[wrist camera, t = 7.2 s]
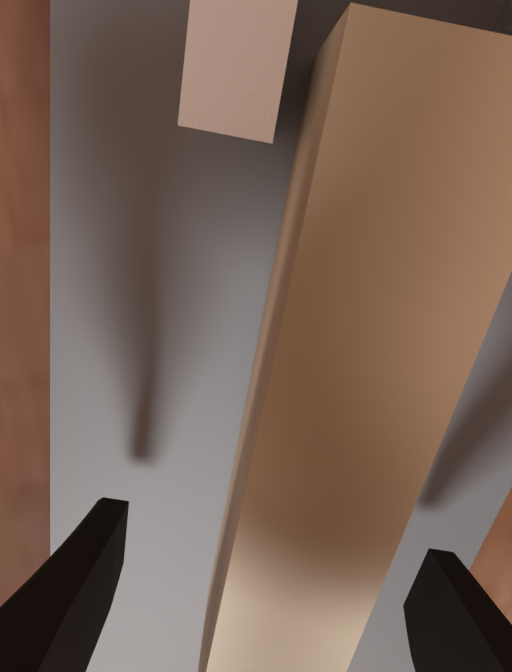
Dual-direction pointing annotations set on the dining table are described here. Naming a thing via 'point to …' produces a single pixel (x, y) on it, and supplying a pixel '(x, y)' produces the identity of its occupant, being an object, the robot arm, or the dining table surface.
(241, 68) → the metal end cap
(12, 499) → the dining table surface
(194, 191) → the assembly board
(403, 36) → the birch slat
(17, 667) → the robot arm
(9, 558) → the dining table surface
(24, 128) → the dining table surface
